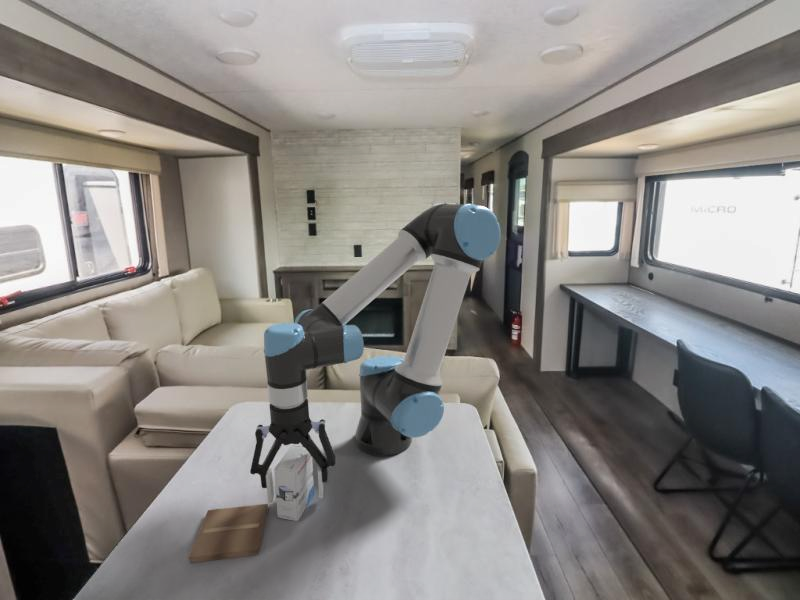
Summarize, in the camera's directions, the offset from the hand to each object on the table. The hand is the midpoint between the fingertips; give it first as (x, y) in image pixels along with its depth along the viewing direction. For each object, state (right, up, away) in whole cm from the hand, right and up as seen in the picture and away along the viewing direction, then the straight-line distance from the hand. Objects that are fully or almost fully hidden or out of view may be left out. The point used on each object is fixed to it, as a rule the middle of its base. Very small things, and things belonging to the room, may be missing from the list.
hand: (296, 496), depth 90 cm
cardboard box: (-11, -4, -7) cm, 14 cm away
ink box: (0, -2, +1) cm, 2 cm away
